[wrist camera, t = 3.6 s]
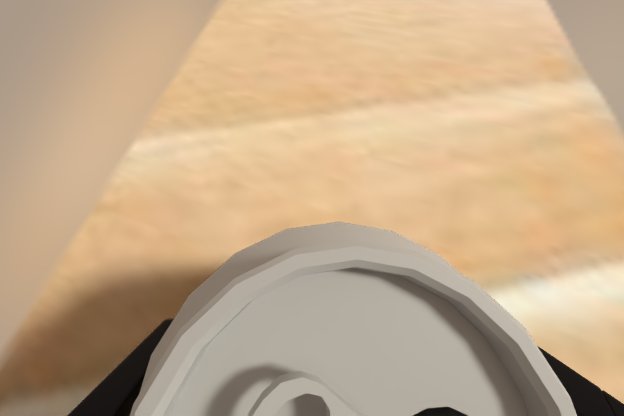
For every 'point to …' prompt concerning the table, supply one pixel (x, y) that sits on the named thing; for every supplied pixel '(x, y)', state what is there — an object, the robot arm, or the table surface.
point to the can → (345, 337)
